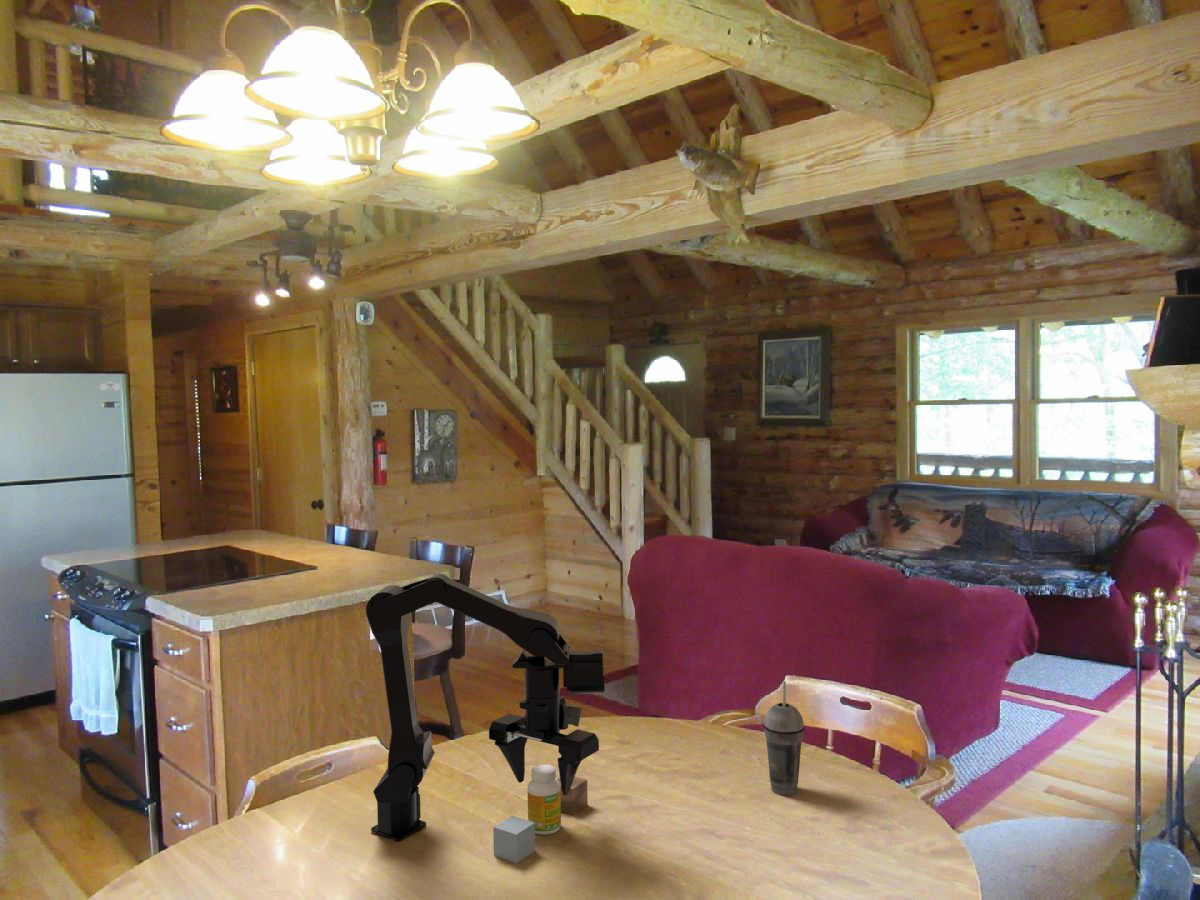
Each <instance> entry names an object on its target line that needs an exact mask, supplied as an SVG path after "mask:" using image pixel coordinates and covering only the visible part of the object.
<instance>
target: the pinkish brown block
mask: <svg viewBox="0 0 1200 900" xmlns="http://www.w3.org/2000/svg"><path fill="white" fill-rule="evenodd" d="M556 780H557V781H558V782H559V783H560V789H561V813H564V814H569V815H572V816H573V815H575V814H576V813H578V812H579V811H581V810H582V809H584V808H585V807H587V806H588V804H589V801H588V798H589V797H588V796H589V795H588V779H587V778H582V777H580V776H579V777H578V776H576V775H575V777H574V780H573V783H572V786H571V789H570V792H569V794H567V795H566V796H565V795H563V792H562V788H561V781H560V777H559V778H556Z"/></svg>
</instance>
